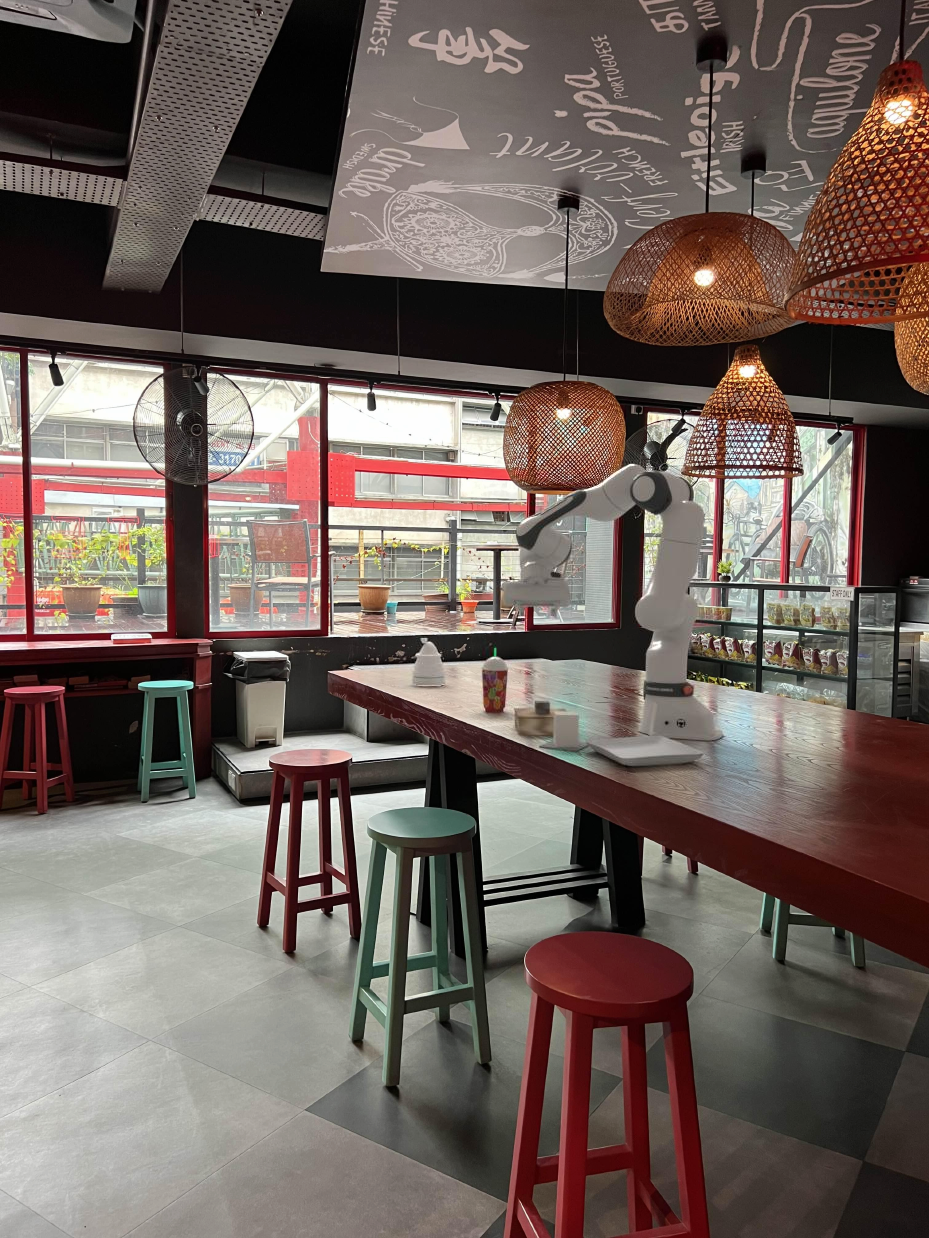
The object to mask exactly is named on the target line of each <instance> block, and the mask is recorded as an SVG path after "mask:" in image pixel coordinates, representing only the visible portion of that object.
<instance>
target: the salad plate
mask: <svg viewBox="0 0 929 1238" xmlns="http://www.w3.org/2000/svg"><path fill="white" fill-rule="evenodd" d="M585 743H587V745H588V747H590V749H592V750H593V751H595V752H596V753H599V754H601V755H602V754H603V756H604V755H605V756H604V757H606V756H607V757H606V758H609V759H610V760H613V761H614V760H615V761H614V762H617V763H619V764H620V765H623V766H626V765H627V766H626V767H649V766H650V767H652V766H653V765H654V766H665V765H666V766H669V765H681V764H686V763H691V762H695V761H697V760H699V759H701V758H702V757H703V756H704V755H705V752H703V751H701V750H698V749H696V748H694V747H691V746H689V745H687V744H683V743H681V742H680V741H677V740H674V739H672V738H666V737H663V736H650V735H647V736H630V737H628V736H627V737H615V738H604V739H599V738H598V739H589V740H588V739H587V740H585Z"/></svg>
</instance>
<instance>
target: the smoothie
mask: <svg viewBox="0 0 929 1238" xmlns="http://www.w3.org/2000/svg"><path fill="white" fill-rule="evenodd" d="M493 653H494V654H493V656H491V657H489V658H487V659H486V660H485V662H484V663H483V666H482V667H481V680H482V699H483V702H482V704H483V708H484V711H485V712H486V713H493V714H494V713H495V714H499V713H503V712H504V709H505V708H506V702H507V701H506V699H507V687H508V676H509V675H508V674H509V668H508V665H507V663H506V662H505V660H504V659H502V658H501V657H500V656H497V647H494V649H493Z"/></svg>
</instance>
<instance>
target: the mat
mask: <svg viewBox="0 0 929 1238" xmlns="http://www.w3.org/2000/svg"><path fill="white" fill-rule="evenodd" d="M588 747H589V746H588V745H587V743H586V742H583V741H581V742H580V741H578V747H556V746H555V745H554V743H553V739H552V740H550V741H548V742H545V743H542V744H540V745H538V748H542V749H548V750H549V749H550V750H558V751H565V750H567V752H573V751H574V752H575V753H577V752H579V750H580V751H582V750H584V749H585V748H588ZM583 748H584V749H583ZM581 749H582V750H581Z"/></svg>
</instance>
